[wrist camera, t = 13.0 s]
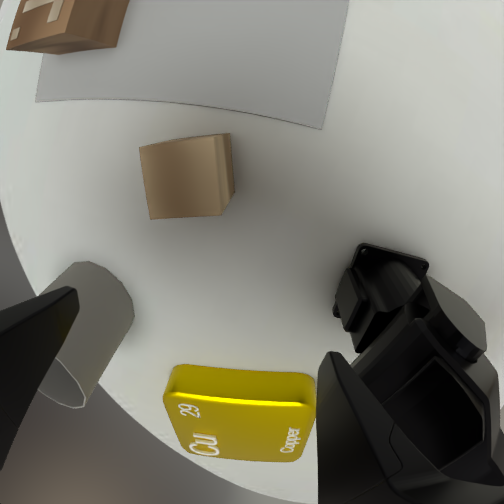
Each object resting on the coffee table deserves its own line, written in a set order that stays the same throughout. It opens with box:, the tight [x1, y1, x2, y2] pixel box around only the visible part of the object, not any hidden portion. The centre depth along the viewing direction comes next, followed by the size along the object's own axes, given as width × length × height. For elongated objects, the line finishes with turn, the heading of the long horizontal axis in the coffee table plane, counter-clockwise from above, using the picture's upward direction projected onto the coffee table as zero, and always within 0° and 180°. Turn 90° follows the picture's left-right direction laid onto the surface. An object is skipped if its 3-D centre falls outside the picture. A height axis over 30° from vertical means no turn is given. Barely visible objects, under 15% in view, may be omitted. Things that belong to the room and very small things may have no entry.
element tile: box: [163, 364, 316, 462], centre depth 28 cm, size 15×15×5 cm
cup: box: [38, 261, 135, 409], centre depth 20 cm, size 8×8×10 cm
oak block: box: [139, 133, 235, 220], centre depth 16 cm, size 4×4×5 cm
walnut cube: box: [6, 0, 130, 55], centre depth 10 cm, size 6×6×6 cm
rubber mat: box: [35, 0, 349, 130], centre depth 13 cm, size 23×14×1 cm, turn 78°
